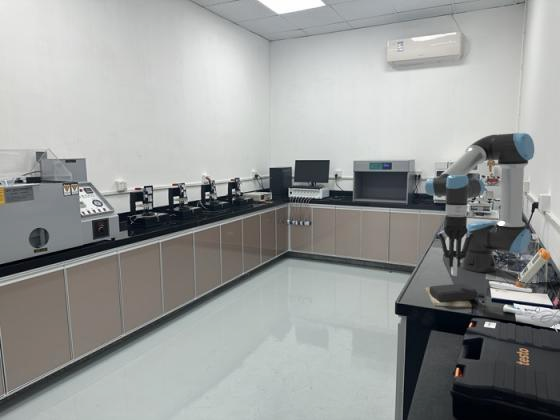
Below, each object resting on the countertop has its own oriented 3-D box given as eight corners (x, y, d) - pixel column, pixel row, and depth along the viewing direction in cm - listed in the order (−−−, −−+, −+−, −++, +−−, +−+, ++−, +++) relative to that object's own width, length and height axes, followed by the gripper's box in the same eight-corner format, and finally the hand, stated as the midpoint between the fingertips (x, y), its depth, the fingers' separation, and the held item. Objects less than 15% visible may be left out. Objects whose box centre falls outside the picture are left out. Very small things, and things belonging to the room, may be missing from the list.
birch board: (458, 290, 161) (458, 288, 160) (471, 307, 143) (471, 304, 143) (425, 289, 163) (425, 287, 163) (434, 305, 145) (434, 303, 145)
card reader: (464, 292, 156) (428, 295, 154) (464, 282, 155) (428, 285, 154) (478, 300, 146) (440, 303, 145) (478, 290, 146) (440, 293, 145)
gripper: (440, 216, 146) (438, 277, 149) (477, 216, 143) (474, 278, 146) (436, 213, 153) (434, 271, 156) (471, 214, 151) (468, 272, 154)
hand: (454, 274), depth 151 cm, fingers closed
